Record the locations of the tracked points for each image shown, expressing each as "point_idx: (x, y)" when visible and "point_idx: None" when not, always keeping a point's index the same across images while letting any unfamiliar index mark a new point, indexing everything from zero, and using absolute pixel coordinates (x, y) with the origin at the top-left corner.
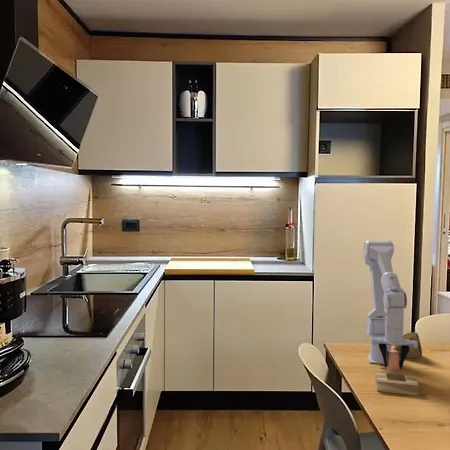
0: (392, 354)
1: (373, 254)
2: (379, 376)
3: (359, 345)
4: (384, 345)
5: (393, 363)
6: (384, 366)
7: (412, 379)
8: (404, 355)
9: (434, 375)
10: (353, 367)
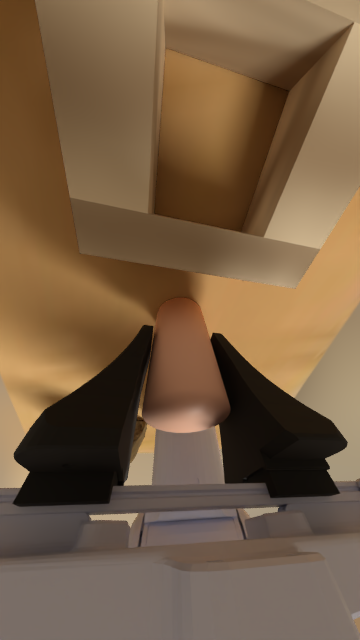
0: (206, 385)
1: None
2: (355, 154)
3: None
4: (284, 477)
5: (190, 335)
6: (222, 336)
7: (89, 78)
8: (110, 378)
9: (24, 332)
10: (282, 361)
